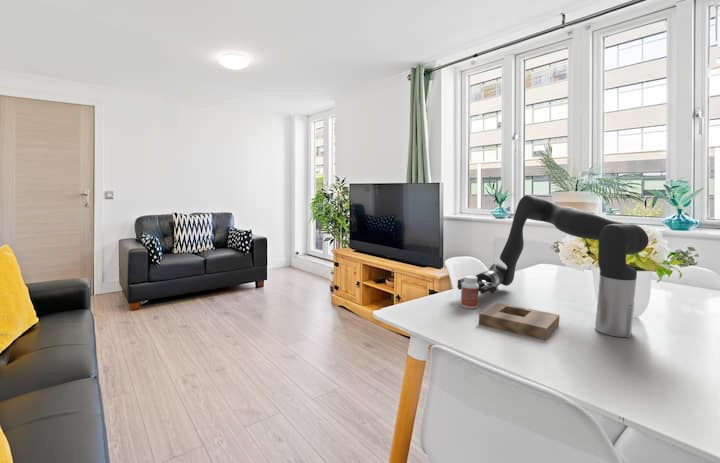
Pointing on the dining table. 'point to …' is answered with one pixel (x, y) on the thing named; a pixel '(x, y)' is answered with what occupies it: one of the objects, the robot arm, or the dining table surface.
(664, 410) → the dining table surface
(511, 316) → the socket block
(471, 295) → the pill bottle
